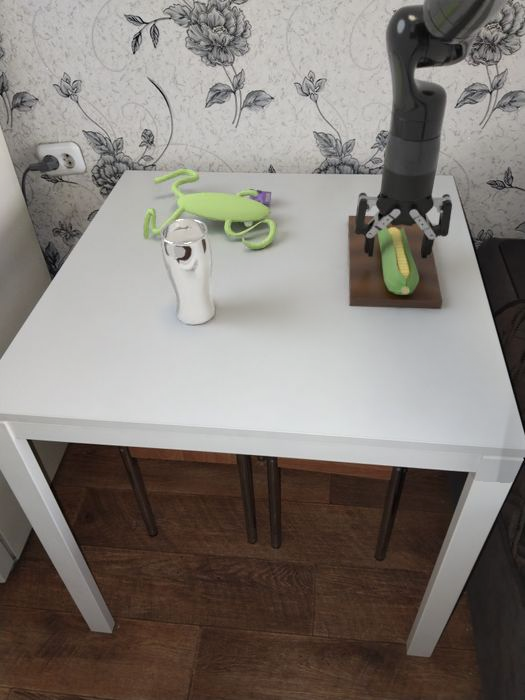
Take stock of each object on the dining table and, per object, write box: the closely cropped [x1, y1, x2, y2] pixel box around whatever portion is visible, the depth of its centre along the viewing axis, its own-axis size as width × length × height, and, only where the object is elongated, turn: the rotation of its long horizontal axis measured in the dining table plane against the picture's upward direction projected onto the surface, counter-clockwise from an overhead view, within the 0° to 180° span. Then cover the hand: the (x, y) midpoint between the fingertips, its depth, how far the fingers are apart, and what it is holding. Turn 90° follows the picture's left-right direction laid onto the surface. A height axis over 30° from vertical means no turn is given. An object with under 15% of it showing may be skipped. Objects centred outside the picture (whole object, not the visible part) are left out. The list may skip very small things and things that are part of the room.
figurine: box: [143, 168, 278, 250], centre depth 110 cm, size 18×27×6 cm
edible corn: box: [378, 227, 419, 295], centre depth 95 cm, size 5×20×5 cm, turn 178°
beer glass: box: [160, 217, 216, 326], centre depth 87 cm, size 7×7×15 cm
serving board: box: [347, 215, 443, 310], centre depth 100 cm, size 24×14×2 cm, turn 174°
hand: (396, 254), depth 96 cm, fingers open, 8 cm apart
